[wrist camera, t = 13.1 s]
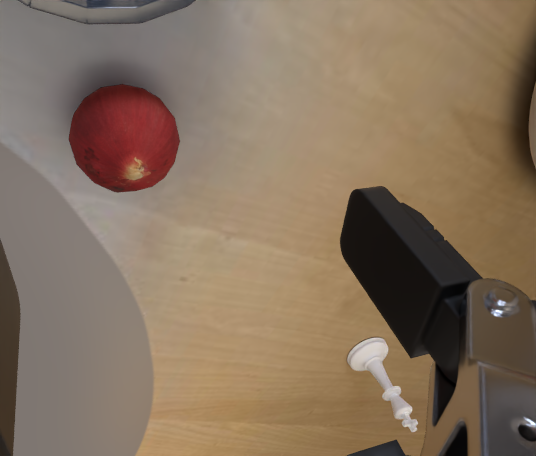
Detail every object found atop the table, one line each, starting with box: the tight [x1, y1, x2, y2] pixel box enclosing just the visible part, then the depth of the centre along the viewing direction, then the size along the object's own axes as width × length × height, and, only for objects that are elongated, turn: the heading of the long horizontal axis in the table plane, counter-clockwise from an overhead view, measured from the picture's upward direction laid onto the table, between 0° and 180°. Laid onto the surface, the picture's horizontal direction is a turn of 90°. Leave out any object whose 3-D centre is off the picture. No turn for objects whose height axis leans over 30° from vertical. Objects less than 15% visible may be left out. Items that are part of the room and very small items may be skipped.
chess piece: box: [347, 338, 418, 432], centre depth 52 cm, size 5×5×10 cm
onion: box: [69, 84, 180, 192], centre depth 27 cm, size 6×6×8 cm
